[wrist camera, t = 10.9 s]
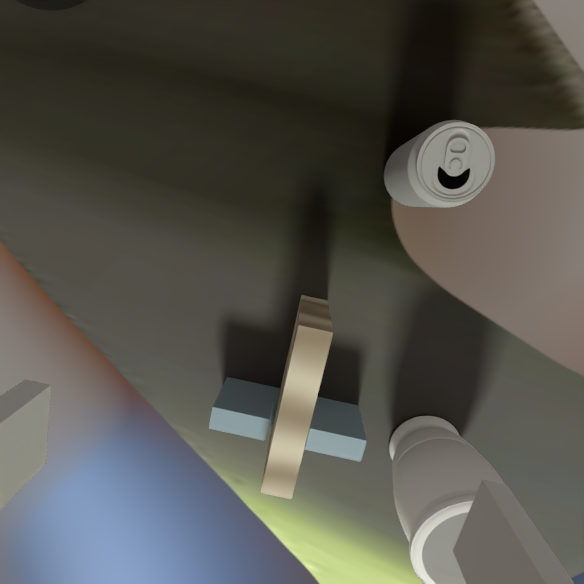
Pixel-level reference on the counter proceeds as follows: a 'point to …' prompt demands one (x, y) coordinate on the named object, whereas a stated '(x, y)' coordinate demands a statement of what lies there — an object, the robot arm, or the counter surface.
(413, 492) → the jar
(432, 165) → the beverage can
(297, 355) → the birch plate
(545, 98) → the counter surface
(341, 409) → the blue board
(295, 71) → the counter surface
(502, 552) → the robot arm
